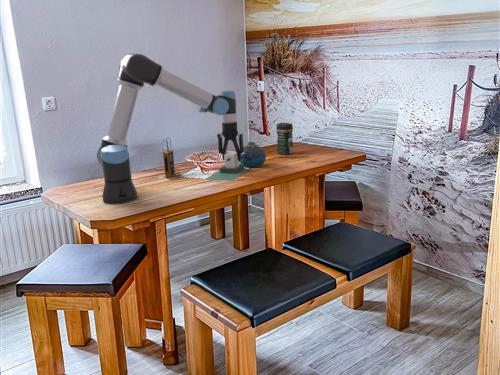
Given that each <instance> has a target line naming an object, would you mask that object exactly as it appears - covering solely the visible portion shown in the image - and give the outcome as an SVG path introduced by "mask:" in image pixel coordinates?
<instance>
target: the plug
mask: <svg viewBox="0 0 500 375" xmlns="http://www.w3.org/2000/svg"><path fill="white" fill-rule="evenodd" d="M236 154H237V153H236V152H226V154H225V162H224V165H225V168H237V167H236Z"/></svg>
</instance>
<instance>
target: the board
mask: <svg viewBox="0 0 500 375" xmlns="http://www.w3.org/2000/svg"><path fill="white" fill-rule="evenodd" d="M249 170H250V168H246V167H244V164H240V163H239V166H238V167H237V168H225V164H224V165H223V166H221V167H219V170H218V171H216V172H214V173H213V174H211V175H210V176H208V177H206V178H205V181H206V180H208V181H209V180H210V181H232V182H233V181H235V180H236V179H238V178H239V177H241V176H242V175H244V174H245V173H246V172H247V171H249Z"/></svg>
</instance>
